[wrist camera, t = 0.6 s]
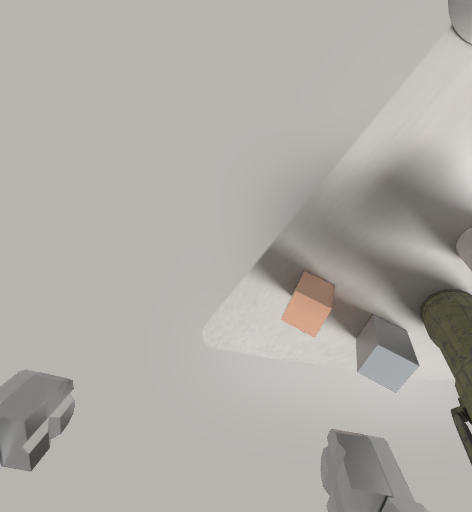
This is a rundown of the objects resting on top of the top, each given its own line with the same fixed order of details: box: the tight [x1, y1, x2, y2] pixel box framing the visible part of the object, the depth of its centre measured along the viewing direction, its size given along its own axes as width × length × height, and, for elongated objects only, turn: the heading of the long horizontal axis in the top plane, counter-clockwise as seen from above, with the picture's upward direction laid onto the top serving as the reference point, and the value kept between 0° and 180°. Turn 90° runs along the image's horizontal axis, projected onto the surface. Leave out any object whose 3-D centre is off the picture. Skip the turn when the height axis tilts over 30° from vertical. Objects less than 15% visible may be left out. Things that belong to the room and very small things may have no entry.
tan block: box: [281, 271, 335, 338], centre depth 50 cm, size 6×6×10 cm
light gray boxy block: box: [356, 315, 419, 393], centre depth 47 cm, size 6×6×10 cm
